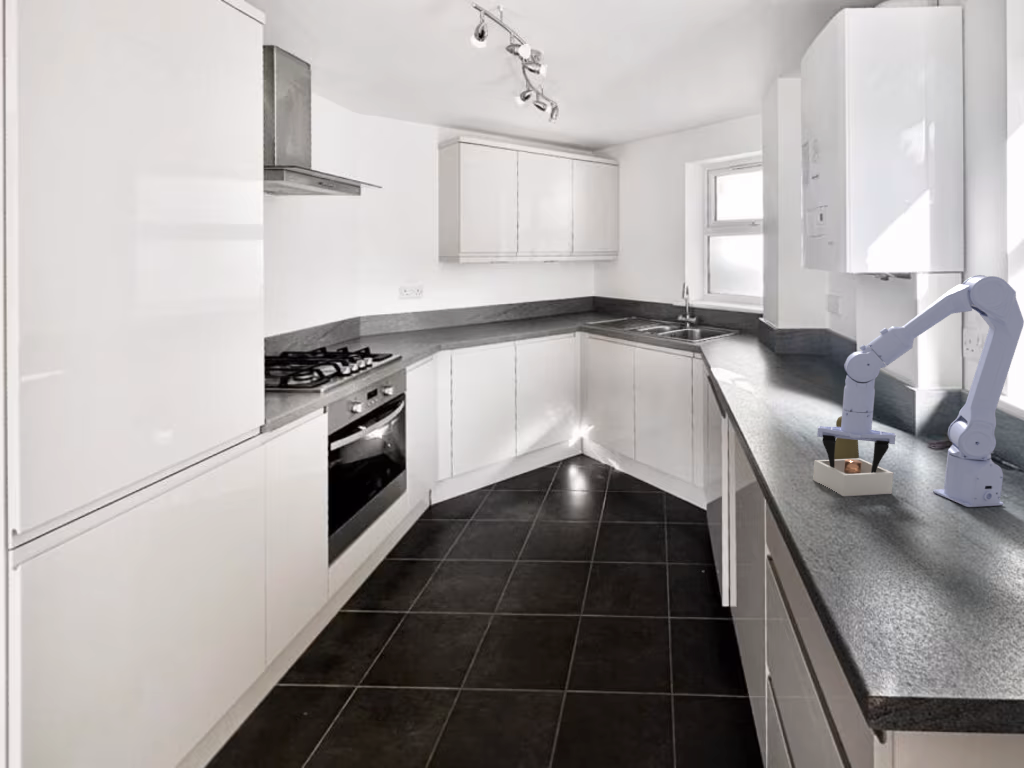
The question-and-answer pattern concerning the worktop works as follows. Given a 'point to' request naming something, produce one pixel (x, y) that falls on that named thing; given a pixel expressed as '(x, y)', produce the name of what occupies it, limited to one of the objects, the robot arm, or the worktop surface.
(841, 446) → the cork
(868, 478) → the white shallow open box
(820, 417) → the worktop surface
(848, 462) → the copper knob lid
